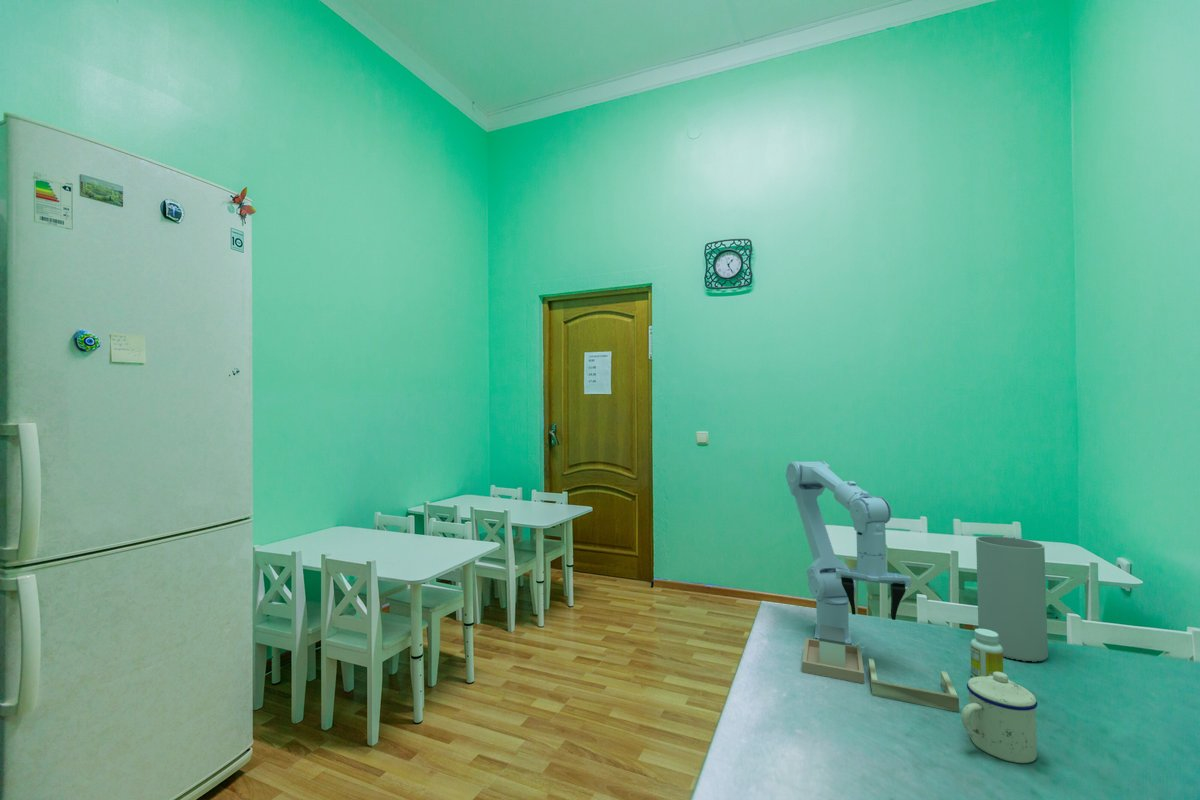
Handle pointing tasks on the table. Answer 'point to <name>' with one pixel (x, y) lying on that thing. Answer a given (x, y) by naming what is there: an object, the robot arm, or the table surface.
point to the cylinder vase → (1013, 595)
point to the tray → (849, 673)
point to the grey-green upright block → (832, 646)
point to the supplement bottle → (986, 653)
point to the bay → (916, 692)
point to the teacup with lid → (1001, 718)
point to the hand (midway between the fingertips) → (873, 615)
